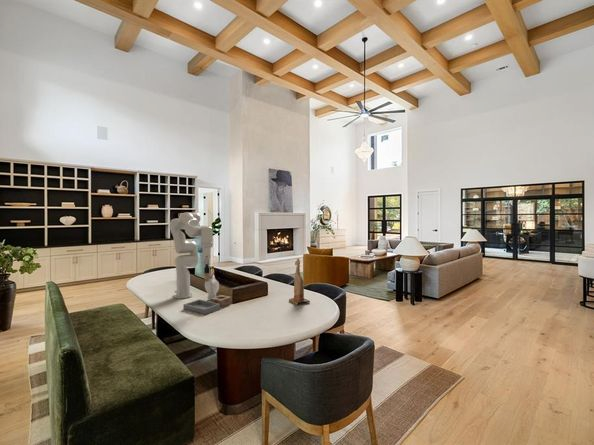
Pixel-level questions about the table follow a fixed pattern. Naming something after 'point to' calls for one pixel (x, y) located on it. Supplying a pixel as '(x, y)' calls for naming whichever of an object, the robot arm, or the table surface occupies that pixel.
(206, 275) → the dowel
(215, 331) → the table surface
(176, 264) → the robot arm
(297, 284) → the bird sculpture
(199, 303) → the tray
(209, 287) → the shell sculpture
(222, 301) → the holder block
